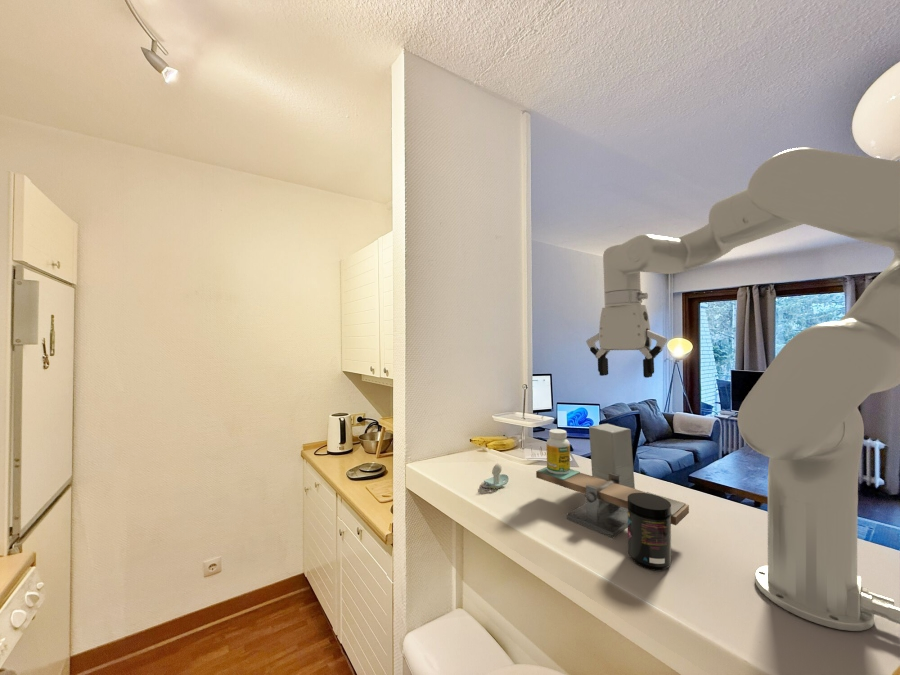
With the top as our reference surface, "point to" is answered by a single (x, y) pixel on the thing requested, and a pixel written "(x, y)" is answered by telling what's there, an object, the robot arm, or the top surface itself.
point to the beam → (607, 490)
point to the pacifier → (496, 478)
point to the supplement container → (649, 530)
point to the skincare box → (612, 453)
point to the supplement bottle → (558, 452)
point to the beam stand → (600, 512)
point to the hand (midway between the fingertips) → (625, 376)
